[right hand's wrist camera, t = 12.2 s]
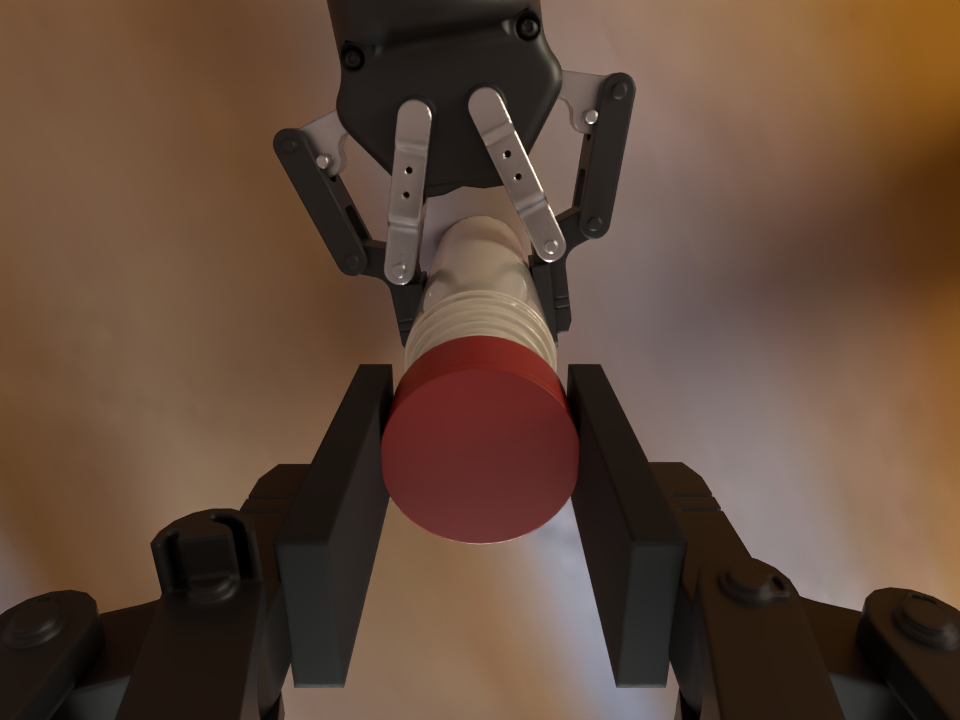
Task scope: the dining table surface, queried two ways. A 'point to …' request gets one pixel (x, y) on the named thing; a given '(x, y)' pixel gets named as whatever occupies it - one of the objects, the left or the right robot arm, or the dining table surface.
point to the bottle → (480, 292)
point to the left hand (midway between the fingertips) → (490, 348)
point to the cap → (480, 441)
